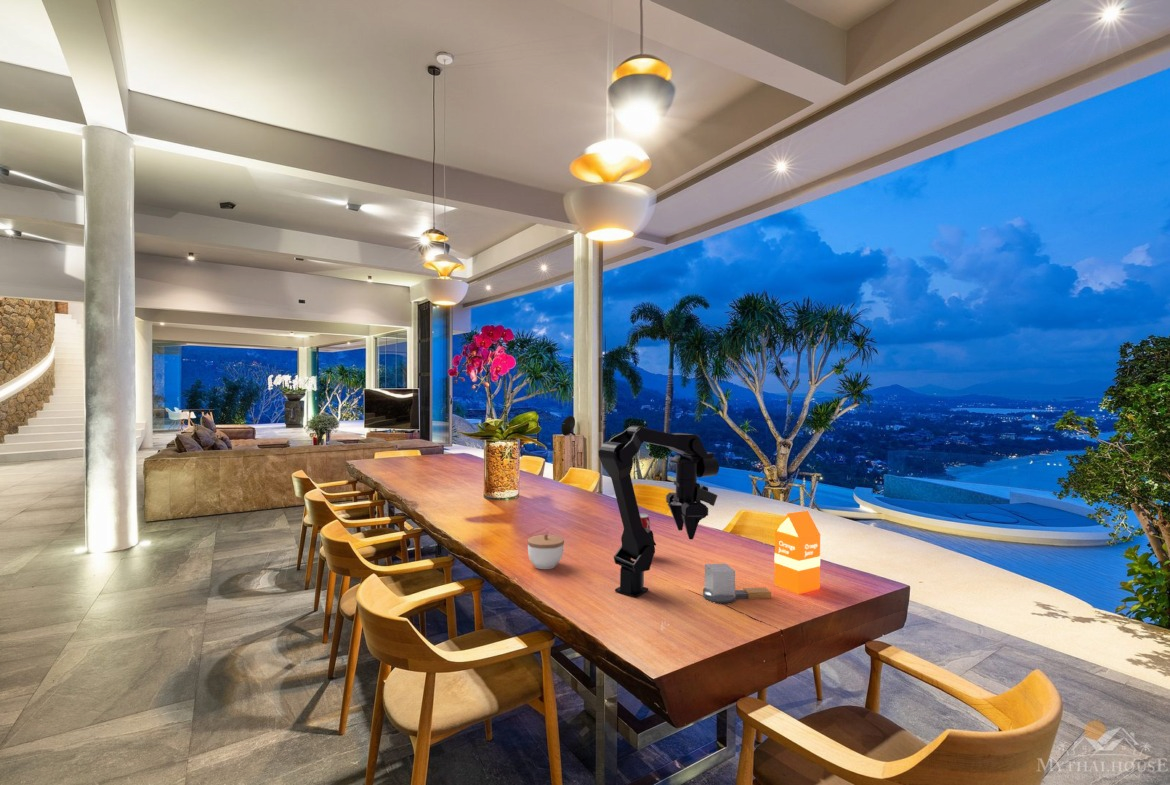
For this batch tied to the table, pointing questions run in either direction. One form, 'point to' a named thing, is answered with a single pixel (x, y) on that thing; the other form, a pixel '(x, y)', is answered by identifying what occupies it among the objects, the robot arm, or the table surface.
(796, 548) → the orange juice
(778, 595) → the table surface
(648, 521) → the soda can
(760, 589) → the ratchet
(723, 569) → the white metal cube
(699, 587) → the table surface
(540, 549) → the lidded jar
